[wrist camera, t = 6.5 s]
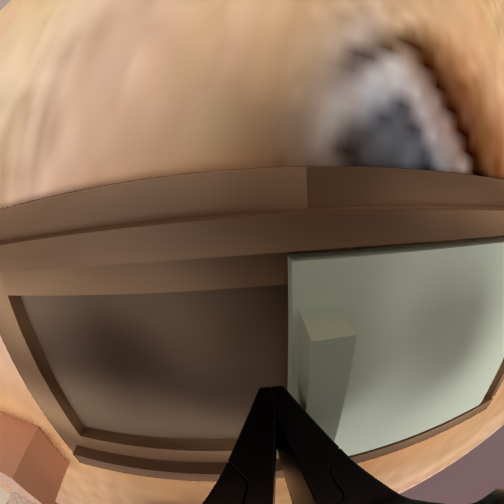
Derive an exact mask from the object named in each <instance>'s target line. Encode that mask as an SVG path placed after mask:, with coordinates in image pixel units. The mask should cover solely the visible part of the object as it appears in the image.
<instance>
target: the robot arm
mask: <svg viewBox="0 0 504 504" xmlns="http://www.w3.org/2000/svg"><path fill="white" fill-rule="evenodd" d="M277 451H278V455H279V459H280V462H281V466H282V469H283V473H284V476H285V480H286V483H287V487H288V490H289V494H290V497H291V500H292V504H443V503H434V502H426V501H420V500H414V499H410V498H407V497H404V496H402V495H400V494H398V493H397V492H395V491H393V490H392V489H390V488H389V487H387V486H386V485H385V484H383V483H382V482H380V481H379V480H377V479H376V478H374V477H373V476H372V475H370V474H369V473H368V472H366V471H365V470H364V469H362V468H361V467H360V466H359V465H357V464H356V463H355V462H354V461H353V460H352V459H351V458H350V457H349V456H348V455H347V454H346V453H345V452H344V451H343V450H342V449H341V448H339V446H338V445H337V444H336V443H335V442H334V441H333V440H332V439H331V438H330V437H329V436H328V435H327V434H326V433H325V432H324V431H323V429H322V428H321V427H320V426H319V425H318V424H317V423H316V422H315V421H314V420H313V419H312V418H311V416H310V415H309V414H308V413H307V412H306V411H305V410H304V409H303V408H302V407H301V405H300V404H299V403H298V402H297V401H296V400H295V399H294V398H293V396H292V395H291V394H290V393H289V392H288V391H287V390H286V388H285V387H284V386H282V385H281V386H272V387H261V388H259V389H258V392H257V394H256V396H255V399H254V401H253V404H252V406H251V409H250V411H249V413H248V416H247V418H246V420H245V423H244V425H243V427H242V430H241V432H240V434H239V437H238V439H237V441H236V443H235V446H234V448H233V450H232V452H231V454H230V457H229V459H228V462H227V463H226V465H225V467H224V469H223V471H222V473H221V475H220V477H219V479H218V481H217V483H216V484H215V486H214V487H213V489H212V491H211V492H210V494H209V495H208V497H207V498H206V499H205V501H204V502H203V503H202V504H275V487H276V459H277ZM472 504H504V489H495V490H494V491H492V492H491V493H490V494H488V495H487V496H485V497H484V498H483V499H481V500H480V501H478V502H475V503H472Z"/></svg>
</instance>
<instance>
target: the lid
mask: <svg viewBox="0 0 504 504" xmlns="http://www.w3.org/2000/svg"><path fill="white" fill-rule="evenodd" d="M503 358H504V237H495V238H484V239H472V240H460V241H449V242H437V243H424V244H412V245H400V246H388V247H375V248H362V249H350V250H337V251H324V252H311V253H298V254H288V388H287V391H288V392H289V393H290V394H291V395H292V396H293V398H294V399H295V400H296V401H297V402H298V403H299V404H300V405H301V407H302V408H303V409H304V410H305V411H306V412H307V413H308V414H309V415H310V416H311V418H312V419H313V420H314V421H315V422H316V423H317V424H318V425H319V426H320V427H321V428H322V429H323V431H324V432H325V433H326V434H327V435H328V436H329V437H330V438H331V439H332V440H333V441H334V442H335V443H336V444H337V445H338V446H339V448H341V449H342V450H343V451H344V452H345V453H346V454H347V455H348V456H350V455H354V454H358V453H362V452H366V451H369V450H372V449H376V448H379V447H382V446H385V445H388V444H391V443H394V442H397V441H400V440H403V439H406V438H408V437H411V436H414V435H416V434H419V433H421V432H424V431H426V430H428V429H431V428H433V427H435V426H438V425H440V424H442V423H444V422H446V421H449V420H451V419H453V418H455V417H457V416H459V415H461V414H463V413H465V412H466V411H468V410H470V409H472V408H474V407H476V406H478V405H479V404H480V403H481V402H482V400H483V398H484V396H485V395H486V393H487V391H488V389H489V387H490V385H491V383H492V381H493V379H494V377H495V375H496V373H497V371H498V369H499V367H500V365H501V363H502V361H503Z"/></svg>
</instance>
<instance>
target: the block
mask: <svg viewBox="0 0 504 504" xmlns="http://www.w3.org/2000/svg"><path fill="white" fill-rule="evenodd" d="M68 465H69V462H68V461H67V460H66V459H65V458H64V457H63V456H62V454H61V453H60V452H59V451H58V450H57V449H56V447H55V446H54V445H53V444H52V443H51V441H50V440H49V439H48V438H47V436H46V435H45V434H44V433H43V431H42V430H41V429H40V427H39V426H36V425H33V424H30V423H28V422H25V421H22V420H20V419H17V418H15V417H12V416H10V415H7V414H5V413H3V412H0V481H1V482H2V483H4V484H5V485H6V486H7V487H8V488H9V489H11V490H12V491H14V492H16V493H18V494H19V495H21V496H23V497H25V498H27V499H29V500H30V501H32V502H34V503H36V504H54V502H55V500H56V497H57V494H58V491H59V488H60V486H61V483H62V480H63V478H64V475H65V473H66V470H67V468H68Z"/></svg>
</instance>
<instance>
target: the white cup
mask: <svg viewBox="0 0 504 504" xmlns="http://www.w3.org/2000/svg"><path fill="white" fill-rule="evenodd" d="M6 504H36V503H34V502H32V501H30V500H29V499H27V498H25V497H23V496H21V495H19V494H18V493H16V492H14V491H13V492H12V494H11V495H10V498H9V499H8V501H7V503H6ZM54 504H55V502H54Z"/></svg>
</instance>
